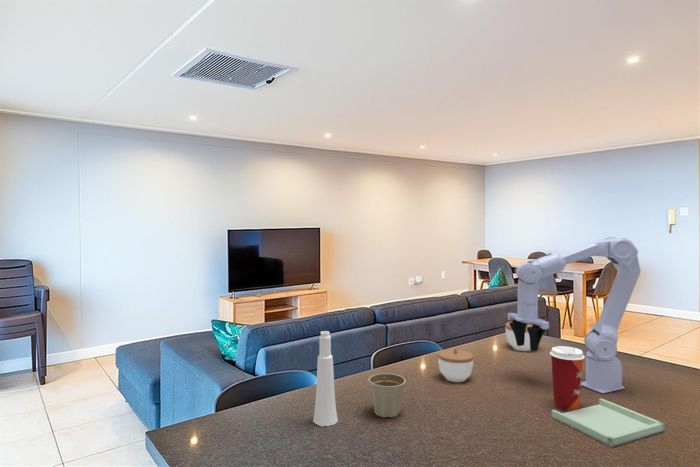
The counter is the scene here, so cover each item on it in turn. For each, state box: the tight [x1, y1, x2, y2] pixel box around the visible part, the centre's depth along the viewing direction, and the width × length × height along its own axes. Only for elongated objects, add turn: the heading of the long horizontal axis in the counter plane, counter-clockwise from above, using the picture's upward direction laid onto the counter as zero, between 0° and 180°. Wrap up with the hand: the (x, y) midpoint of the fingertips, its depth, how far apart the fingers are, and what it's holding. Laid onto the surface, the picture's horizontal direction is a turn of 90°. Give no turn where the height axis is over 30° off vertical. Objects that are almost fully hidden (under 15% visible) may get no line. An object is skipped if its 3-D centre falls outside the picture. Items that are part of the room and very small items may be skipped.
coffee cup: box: [549, 345, 586, 412], centre depth 119 cm, size 8×8×15 cm
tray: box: [551, 398, 666, 448], centre depth 108 cm, size 18×16×2 cm
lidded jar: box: [437, 348, 475, 383], centre depth 139 cm, size 11×11×9 cm
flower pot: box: [368, 373, 406, 418], centre depth 115 cm, size 9×9×9 cm
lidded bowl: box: [504, 321, 533, 352], centre depth 171 cm, size 13×13×11 cm
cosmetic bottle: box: [312, 330, 339, 427], centre depth 110 cm, size 6×6×22 cm
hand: (527, 347), depth 136 cm, fingers open, 5 cm apart
